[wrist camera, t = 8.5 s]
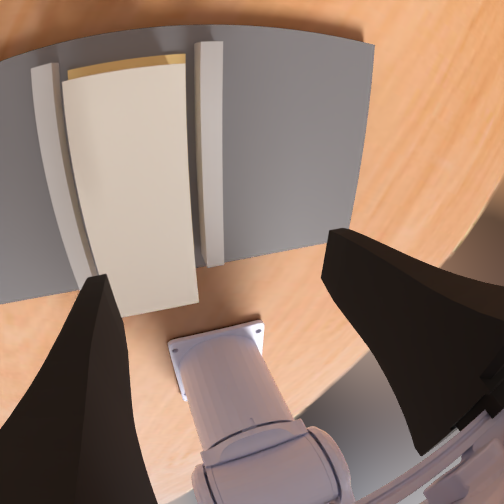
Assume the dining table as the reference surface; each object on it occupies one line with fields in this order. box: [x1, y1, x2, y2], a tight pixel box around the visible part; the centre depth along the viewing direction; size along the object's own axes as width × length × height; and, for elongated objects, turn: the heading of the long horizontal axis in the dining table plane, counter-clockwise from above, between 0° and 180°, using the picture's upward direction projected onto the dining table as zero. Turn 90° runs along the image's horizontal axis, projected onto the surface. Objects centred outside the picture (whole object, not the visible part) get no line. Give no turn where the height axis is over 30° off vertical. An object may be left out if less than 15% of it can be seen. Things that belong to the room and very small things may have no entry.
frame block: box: [62, 64, 199, 318], centre depth 13 cm, size 10×4×5 cm, turn 177°
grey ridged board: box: [0, 25, 375, 304], centre depth 15 cm, size 14×27×2 cm, turn 87°
